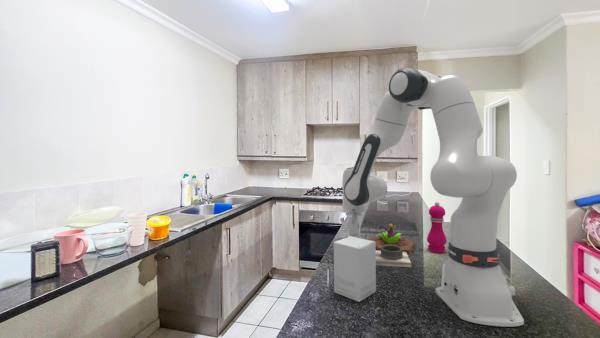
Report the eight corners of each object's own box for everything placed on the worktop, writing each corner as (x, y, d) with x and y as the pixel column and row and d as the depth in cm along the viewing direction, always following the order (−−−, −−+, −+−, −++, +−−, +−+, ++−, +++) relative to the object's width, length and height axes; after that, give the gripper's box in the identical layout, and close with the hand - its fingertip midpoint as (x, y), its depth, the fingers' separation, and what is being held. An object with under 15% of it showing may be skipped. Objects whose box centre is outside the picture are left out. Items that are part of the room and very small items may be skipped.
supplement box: (377, 292, 88) (377, 241, 87) (359, 303, 82) (359, 248, 81) (351, 282, 94) (351, 235, 94) (333, 292, 88) (332, 241, 87)
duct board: (411, 267, 106) (411, 254, 106) (375, 265, 108) (375, 252, 108) (405, 255, 118) (406, 244, 117) (374, 254, 120) (374, 242, 120)
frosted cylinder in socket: (359, 253, 121) (359, 223, 120) (347, 253, 122) (347, 223, 121) (359, 249, 125) (359, 221, 125) (348, 249, 126) (348, 220, 125)
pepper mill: (448, 254, 119) (449, 203, 118) (429, 253, 120) (429, 203, 119) (443, 248, 126) (444, 200, 125) (425, 247, 127) (425, 200, 126)
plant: (363, 253, 122) (363, 225, 122) (368, 239, 141) (368, 215, 140) (416, 257, 116) (417, 229, 116) (414, 243, 135) (414, 218, 134)
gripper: (361, 212, 112) (361, 249, 112) (361, 202, 132) (361, 234, 132) (344, 211, 113) (344, 248, 114) (346, 202, 133) (346, 233, 134)
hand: (353, 240), depth 123 cm, fingers closed on frosted cylinder in socket, 4 cm apart
